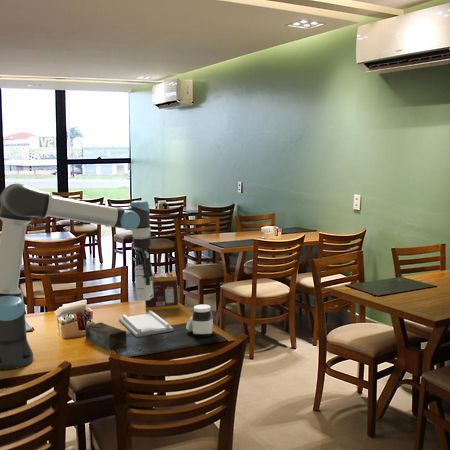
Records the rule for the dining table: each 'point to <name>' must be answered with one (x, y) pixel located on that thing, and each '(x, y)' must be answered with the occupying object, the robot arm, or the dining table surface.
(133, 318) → the panel
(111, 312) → the dining table surface
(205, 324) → the spread jar
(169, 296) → the supplement box
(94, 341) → the dark grey rectangular block
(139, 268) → the syrup box
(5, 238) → the robot arm
